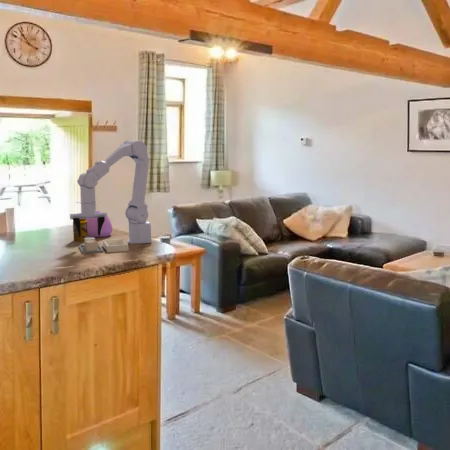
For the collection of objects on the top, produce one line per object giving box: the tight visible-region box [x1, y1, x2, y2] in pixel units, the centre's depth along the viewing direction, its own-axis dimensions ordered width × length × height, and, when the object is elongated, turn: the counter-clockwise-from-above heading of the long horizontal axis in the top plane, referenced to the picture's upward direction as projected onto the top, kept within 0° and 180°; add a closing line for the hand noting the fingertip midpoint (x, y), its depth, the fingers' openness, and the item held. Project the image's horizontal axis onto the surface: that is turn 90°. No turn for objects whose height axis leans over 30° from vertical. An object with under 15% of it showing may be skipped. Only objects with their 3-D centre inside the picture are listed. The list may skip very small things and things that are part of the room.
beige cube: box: [86, 239, 99, 251], centre depth 206 cm, size 4×4×4 cm
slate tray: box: [78, 243, 105, 255], centre depth 210 cm, size 8×13×1 cm, turn 21°
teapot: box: [86, 210, 113, 239], centre depth 241 cm, size 20×13×12 cm, turn 23°
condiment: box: [72, 218, 89, 243], centre depth 227 cm, size 7×8×12 cm
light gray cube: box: [83, 237, 96, 249], centre depth 212 cm, size 4×4×4 cm
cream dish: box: [102, 238, 129, 253], centre depth 212 cm, size 8×12×3 cm
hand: (89, 235), depth 212 cm, fingers open, 7 cm apart
